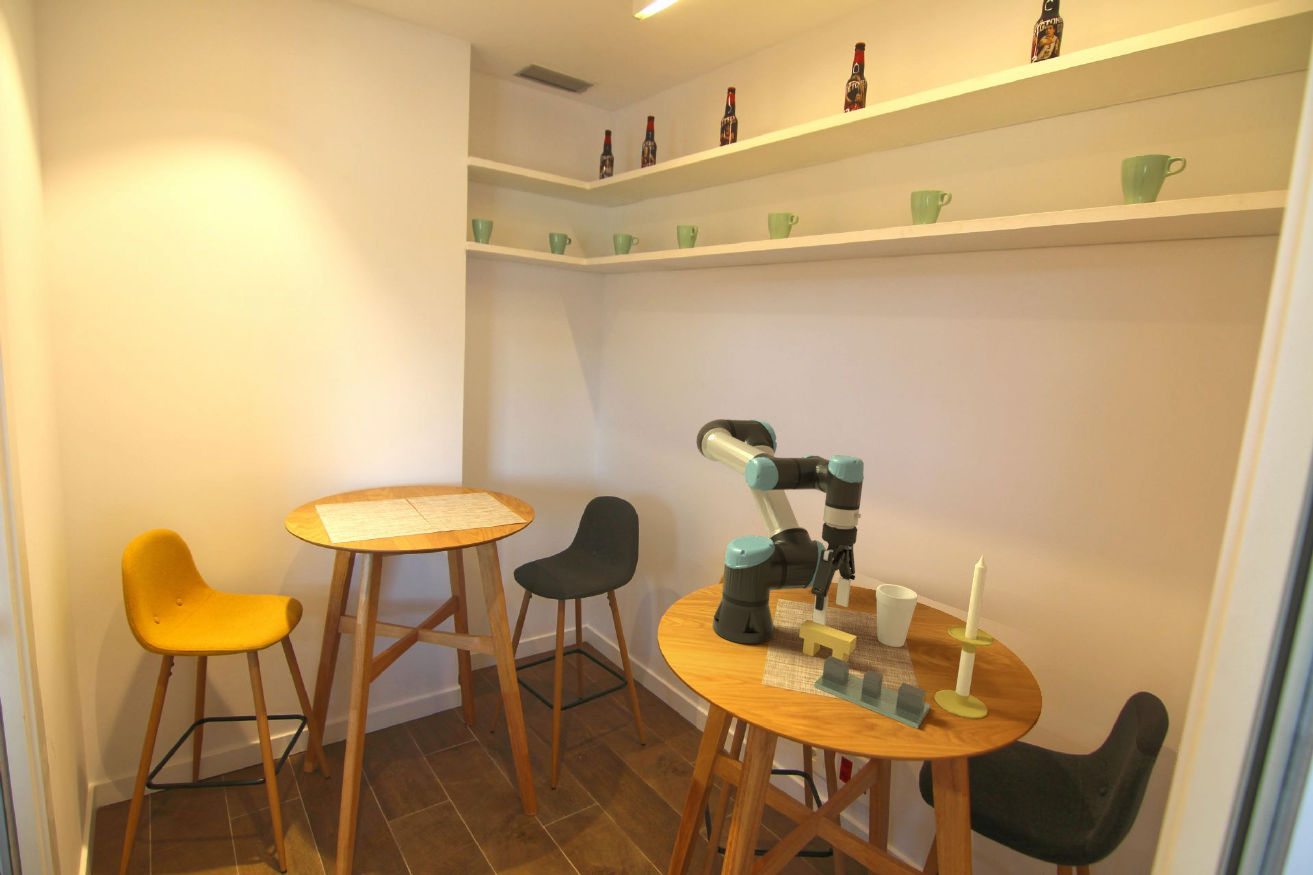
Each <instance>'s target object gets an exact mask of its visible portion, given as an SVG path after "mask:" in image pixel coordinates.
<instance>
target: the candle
mask: <svg viewBox="0 0 1313 875" xmlns="http://www.w3.org/2000/svg"><path fill="white" fill-rule="evenodd" d="M987 570H988V566H987V565H986V563H985V558H984V554H981V556H980V559H979V560H978V562H977V563H976V564H975V565H974V571H973V578H972V586H971V592H970V599H969V605H968V606H969V607H968V613H967V619H966V625H962V624H960V625H959V624H958V625H957V624H956V625H951V626H948V630H947V632H948V634H949V635H950V636H951V637H952V638H954V639H955V640H957V641H959V642H962V646H961V653H960V659H959V666H958V674H957V679H956V688H955V690H953V689H941V690H939V691H937V692H935V694H934V700H935V702H936V704H937V705H938V706H939V707H941V708H942V709H943V710H945V711H946V712H949V714H953V715H955V716H959V717H961V718H966V719H972V720H974V719H975V720H977V719H983V718H985V717H986V716H987V715H988V708H987V706H986V704H985V703H983V701H981V699H978V698H977V697H975V696H973V695H971V694H970V691H971V690H970V689H971V683H972V678H973V670H974V665H975V664H974V663H975V659H976V658H975V656H976V650H977V646H978V647H990V646H992V645H994V643H995V638H994V637H993V635H991V634H989V633H988V632H986V631H984V630H982V629H979V623H980V618H981V610H982V603H983V598H984V596H983V595H984V592H985V591H984V590H985V585H986V584H985V582H986V577H987Z"/></svg>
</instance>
